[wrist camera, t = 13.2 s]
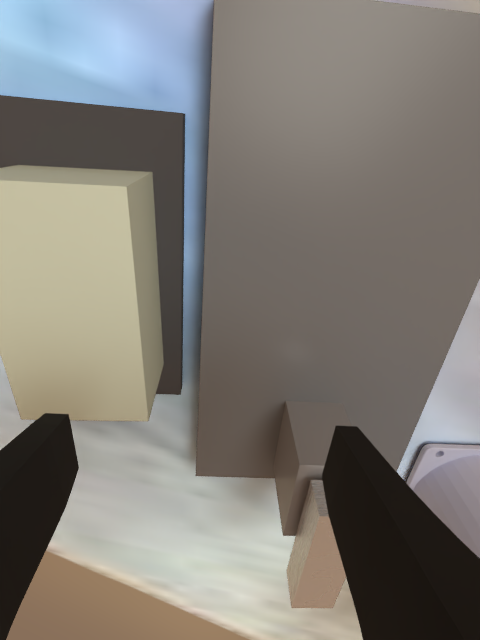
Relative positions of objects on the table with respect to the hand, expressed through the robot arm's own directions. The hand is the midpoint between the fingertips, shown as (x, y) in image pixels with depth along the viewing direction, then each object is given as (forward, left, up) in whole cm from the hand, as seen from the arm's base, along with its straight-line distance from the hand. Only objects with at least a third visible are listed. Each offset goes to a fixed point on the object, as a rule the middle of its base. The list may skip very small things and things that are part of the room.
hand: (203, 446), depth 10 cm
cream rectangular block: (+5, -2, -8) cm, 9 cm away
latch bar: (-5, +8, -3) cm, 10 cm away
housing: (-5, -1, -9) cm, 10 cm away
